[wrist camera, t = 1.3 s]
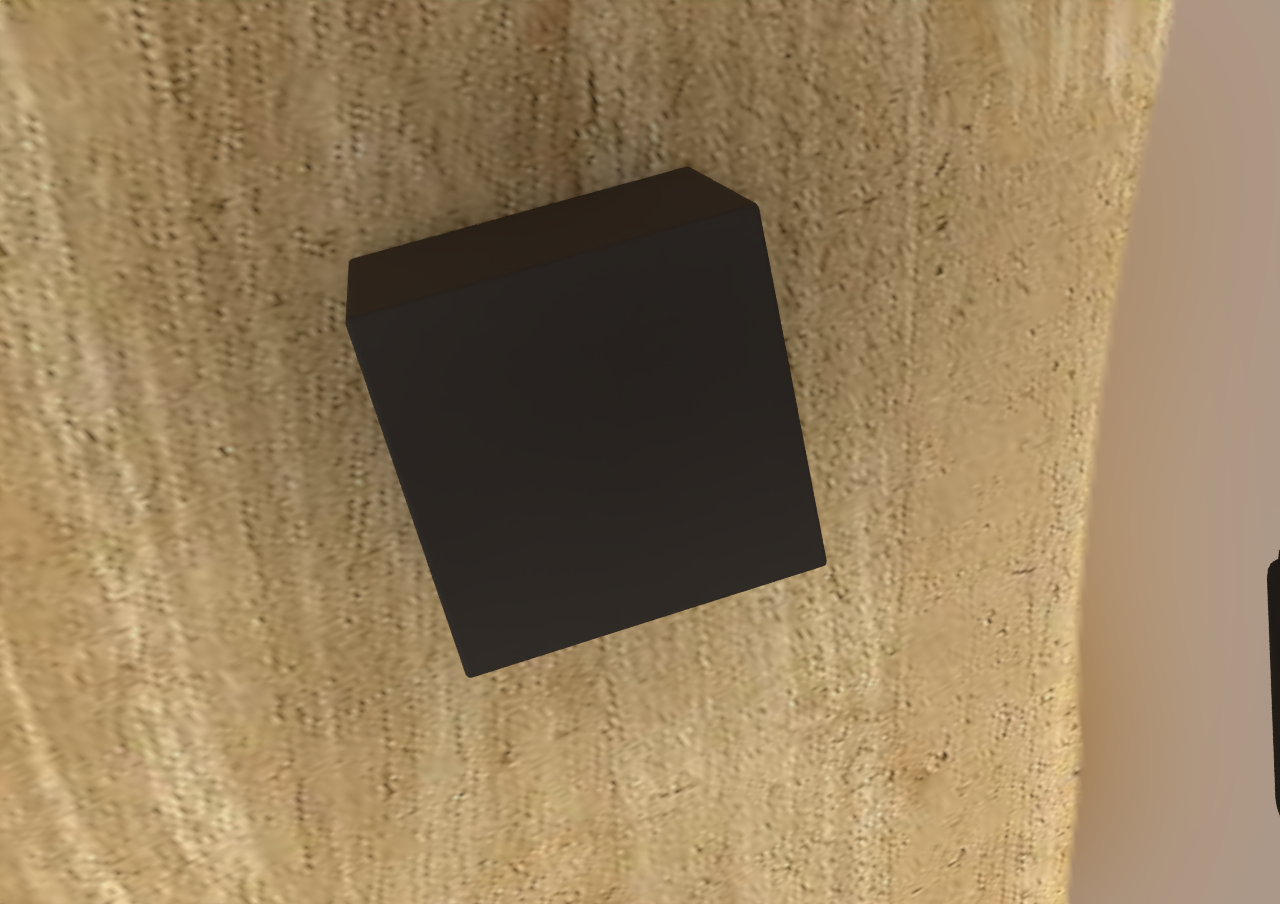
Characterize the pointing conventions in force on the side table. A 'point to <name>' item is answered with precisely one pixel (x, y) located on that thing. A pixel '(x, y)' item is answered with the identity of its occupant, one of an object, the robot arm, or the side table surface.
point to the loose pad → (589, 413)
